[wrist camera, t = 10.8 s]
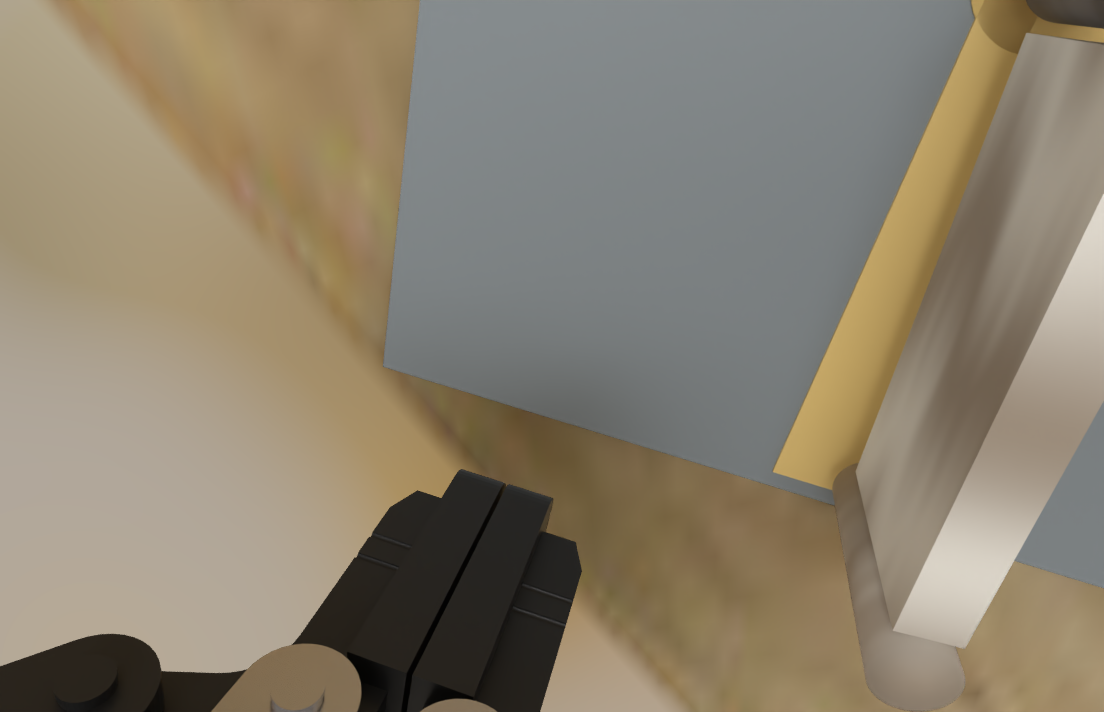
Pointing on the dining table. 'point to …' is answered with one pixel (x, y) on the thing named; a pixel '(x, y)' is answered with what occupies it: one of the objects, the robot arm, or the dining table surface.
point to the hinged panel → (986, 377)
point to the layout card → (703, 221)
